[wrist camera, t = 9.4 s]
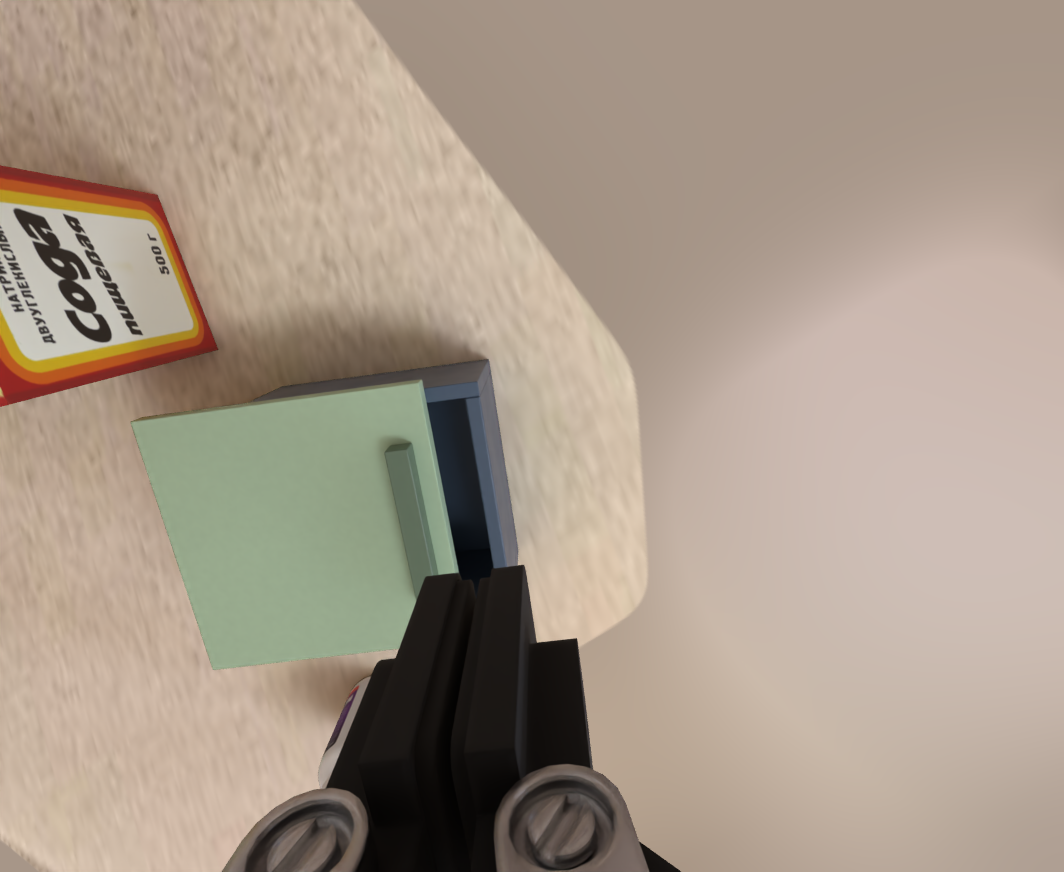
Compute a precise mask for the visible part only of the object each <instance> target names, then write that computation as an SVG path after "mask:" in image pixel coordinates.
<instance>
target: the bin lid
mask: <svg viewBox="0 0 1064 872" xmlns="http://www.w3.org/2000/svg"><path fill="white" fill-rule="evenodd" d="M131 425H132V428H133V431H134V434H135V437H136V440H137V443H138V446H139V449H140V452H141V455H142V458H143V461H144V464H145V467H146V470H147V473H148V476H149V479H150V482H151V485H152V488H153V491H154V494H155V497H156V500H157V503H158V506H159V509H160V512H161V515H162V518H163V521H164V524H165V527H166V530H167V533H168V536H169V539H170V542H171V545H172V548H173V551H174V554H175V557H176V560H177V563H178V566H179V569H180V572H181V575H182V578H183V581H184V584H185V587H186V590H187V593H188V596H189V599H190V602H191V605H192V608H193V611H194V614H195V617H196V620H197V623H198V626H199V629H200V632H201V635H202V638H203V641H204V644H205V647H206V650H207V653H208V656H209V659H210V662H211V665H212V668H213V670H218V669H227V668H236V667H244V666H253V665H262V664H271V663H279V662H288V661H297V660H305V659H314V658H323V657H331V656H340V655H349V654H357V653H366V652H375V651H384V650H392V649H399V648H400V645H401V642H402V639H403V636H404V634H405V631H406V628H407V625H408V623H409V620H410V617H411V614H412V612H413V609H414V606H415V603H416V600H417V598H418V595H419V592H420V589H421V587H422V584H423V581H424V579H425V577H426V576H432V575H441V574H449V573H459V571H458V565H457V560H456V555H455V550H454V544H453V539H452V534H451V529H450V523H449V518H448V513H447V508H446V502H445V497H444V492H443V487H442V481H441V476H440V471H439V466H438V460H437V455H436V450H435V445H434V440H433V434H432V429H431V424H430V419H429V413H428V408H427V403H426V398H425V392H424V387H423V382H422V380H421V379H420V380H413V381H405V382H398V383H390V384H383V385H376V386H368V387H361V388H354V389H346V390H339V391H332V392H324V393H317V394H309V395H302V396H295V397H287V398H280V399H273V400H265V401H258V402H251V403H243V404H236V405H228V406H221V407H214V408H206V409H199V410H192V411H184V412H177V413H170V414H162V415H155V416H147V417H142V418H139V419H136V420H134V421H131Z"/></svg>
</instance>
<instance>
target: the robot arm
mask: <svg viewBox="0 0 1064 872" xmlns="http://www.w3.org/2000/svg"><path fill="white" fill-rule="evenodd" d="M222 872H681V871H680V870H678V869H677V868H675V867H674V866H673V865H671V864H670V863H668V862H667V861H666V860H664V859H663V858H661V857H660V856H659V855H657V854H656V853H654V852H653V851H652V850H650V849H649V848H647V847H646V846H645V845H643V844H642V843H641V842H639V841H638V837H637V834H636V831H635V829H634V826H633V823H632V820H631V817H630V814H629V811H628V808H627V805H626V803H625V801H624V799H623V797H622V795H621V794H620V792H619V790H618V788H617V787H616V786H615V785H614V784H613V783H612V782H610V780H608V779H607V778H606V777H605V776H604V775H603V774H600V773H598V772H596V771H594V770H593V766H592V756H591V747H590V738H589V729H588V721H587V712H586V704H585V696H584V688H583V680H582V672H581V665H580V657H579V649H578V642H577V638H576V639H567V640H558V641H549V642H540V643H537V641H536V635H535V628H534V622H533V615H532V609H531V602H530V595H529V589H528V582H527V576H526V570H525V566H524V565H518V566H509V567H501V568H493V569H492V570H491V576H490V577H489V578H481V579H480V582H479V587H478V592H477V598H476V596H475V590H474V585H473V582H472V580H463V581H462V579H461V576H460V574H459V573H449V574H441V575H432V576H426V577H425V579H424V581H423V584H422V587H421V589H420V592H419V595H418V598H417V600H416V603H415V606H414V609H413V612H412V614H411V617H410V620H409V623H408V625H407V628H406V631H405V634H404V636H403V639H402V642H401V645H400V648H399V650H398V653H397V656H396V658H395V659H386V660H381V661H379V662H378V663H377V664H376V666H375V668H374V670H373V673H372V675H371V678H370V680H369V683H368V685H367V687H366V690H365V692H364V695H363V697H362V700H361V702H360V705H359V707H358V710H357V712H356V715H355V717H354V720H353V722H352V724H351V727H350V729H349V732H348V734H347V737H346V739H345V742H344V744H343V747H342V749H341V752H340V754H339V757H338V759H337V762H336V764H335V766H334V769H333V771H332V774H331V776H330V779H329V781H328V784H327V786H326V788H325V789H316V790H312V791H309V792H306V793H303V794H300V795H297V796H294V797H293V798H291V799H289V800H287V801H286V802H284V803H282V804H280V805H279V806H277V807H275V808H274V809H273V810H271V811H270V812H269V813H268V814H267V815H266V816H264V817H263V818H262V819H261V820H260V821H258V822H257V823H256V824H255V826H254V827H253V828H252V829H251V831H250V832H249V833H248V834H247V835H246V837H245V838H244V839H243V840H242V842H241V843H240V845H239V846H238V848H237V849H236V851H235V852H234V854H233V855H232V857H231V858H230V860H229V861H228V863H227V864H226V866H225V867H224V869H223V870H222Z"/></svg>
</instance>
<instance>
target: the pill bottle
mask: <svg viewBox="0 0 1064 872" xmlns="http://www.w3.org/2000/svg"><path fill="white" fill-rule="evenodd" d="M370 678H371V676H370V677H367V678H365V679H363V680H361V681H360V682H359V683H357V684H356V686H355V687H354V688H353V689H352V691H351V693H350V695H349V697H348V699H347V701H346V703H345V706H344V708H343V710H342V713H341V715H340V718H339V720H338V722H337V725H336V727H335V729H334V732H333V734H332V736H331V738H330V741H329V743H328V746H327V748H326V750H325V752H324V755H323V757H322V760H321V762H320V765H319V770H318V781H319V785H320V788H321V789H325V788H326V786H327V784H328V781H329V779H330V776H331V774H332V771H333V769H334V766H335V764H336V762H337V759H338V757H339V754H340V752H341V749H342V747H343V744H344V742H345V739H346V737H347V734H348V732H349V729H350V727H351V724H352V722H353V720H354V717H355V715H356V712H357V710H358V707H359V705H360V702H361V700H362V697H363V695H364V692H365V690H366V687H367V685H368V683H369V680H370Z"/></svg>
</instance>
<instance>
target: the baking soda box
mask: <svg viewBox="0 0 1064 872" xmlns="http://www.w3.org/2000/svg"><path fill="white" fill-rule="evenodd" d="M215 350H218V348H217V345H216V343H215V340H214V338H213V335H212V333H211V330H210V328H209V325H208V323H207V320H206V317H205V315H204V312H203V310H202V307H201V305H200V302H199V300H198V297H197V295H196V292H195V289H194V287H193V284H192V282H191V279H190V277H189V274H188V272H187V269H186V267H185V264H184V262H183V259H182V256H181V254H180V251H179V249H178V246H177V244H176V241H175V239H174V236H173V234H172V231H171V229H170V226H169V223H168V221H167V218H166V216H165V213H164V211H163V208H162V206H161V203H160V201H159V198H158V195H155V194H150V193H145V192H139V191H134V190H129V189H123V188H118V187H113V186H107V185H102V184H97V183H91V182H86V181H81V180H75V179H70V178H65V177H59V176H54V175H49V174H43V173H38V172H32V171H27V170H22V169H16V168H11V167H6V166H0V407H2V406H5V405H9V404H13V403H17V402H21V401H24V400H28V399H32V398H36V397H40V396H44V395H47V394H51V393H55V392H59V391H63V390H66V389H70V388H74V387H78V386H82V385H85V384H89V383H93V382H97V381H101V380H104V379H108V378H112V377H116V376H120V375H124V374H127V373H131V372H135V371H139V370H143V369H146V368H150V367H154V366H158V365H162V364H165V363H169V362H173V361H177V360H181V359H184V358H188V357H192V356H196V355H200V354H204V353H207V352H211V351H215Z"/></svg>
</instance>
